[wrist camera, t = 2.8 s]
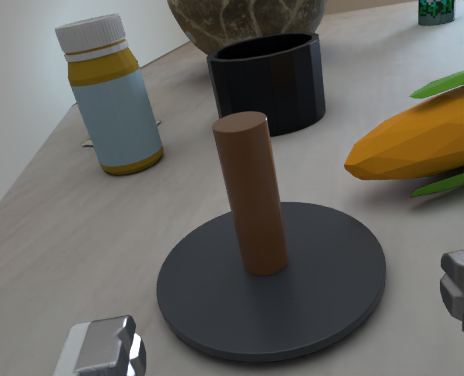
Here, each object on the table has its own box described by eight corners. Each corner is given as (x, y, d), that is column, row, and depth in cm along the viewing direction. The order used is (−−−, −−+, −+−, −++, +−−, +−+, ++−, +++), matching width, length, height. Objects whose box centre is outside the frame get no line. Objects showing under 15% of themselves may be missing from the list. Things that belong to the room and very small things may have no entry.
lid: (249, 428, 18) (193, 231, 13) (127, 281, 28) (72, 142, 24) (437, 269, 24) (445, 94, 19) (279, 196, 34) (259, 72, 29)
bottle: (110, 183, 43) (53, 31, 36) (97, 163, 49) (46, 28, 42) (173, 160, 45) (131, 12, 38) (154, 143, 51) (114, 12, 44)
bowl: (166, 98, 69) (139, 0, 62) (204, 59, 92) (187, -15, 85) (339, 73, 62) (331, -40, 55) (333, 38, 85) (327, -45, 78)
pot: (265, 146, 44) (252, 64, 40) (203, 125, 53) (187, 58, 49) (348, 107, 49) (343, 31, 45) (277, 94, 59) (268, 31, 55)
